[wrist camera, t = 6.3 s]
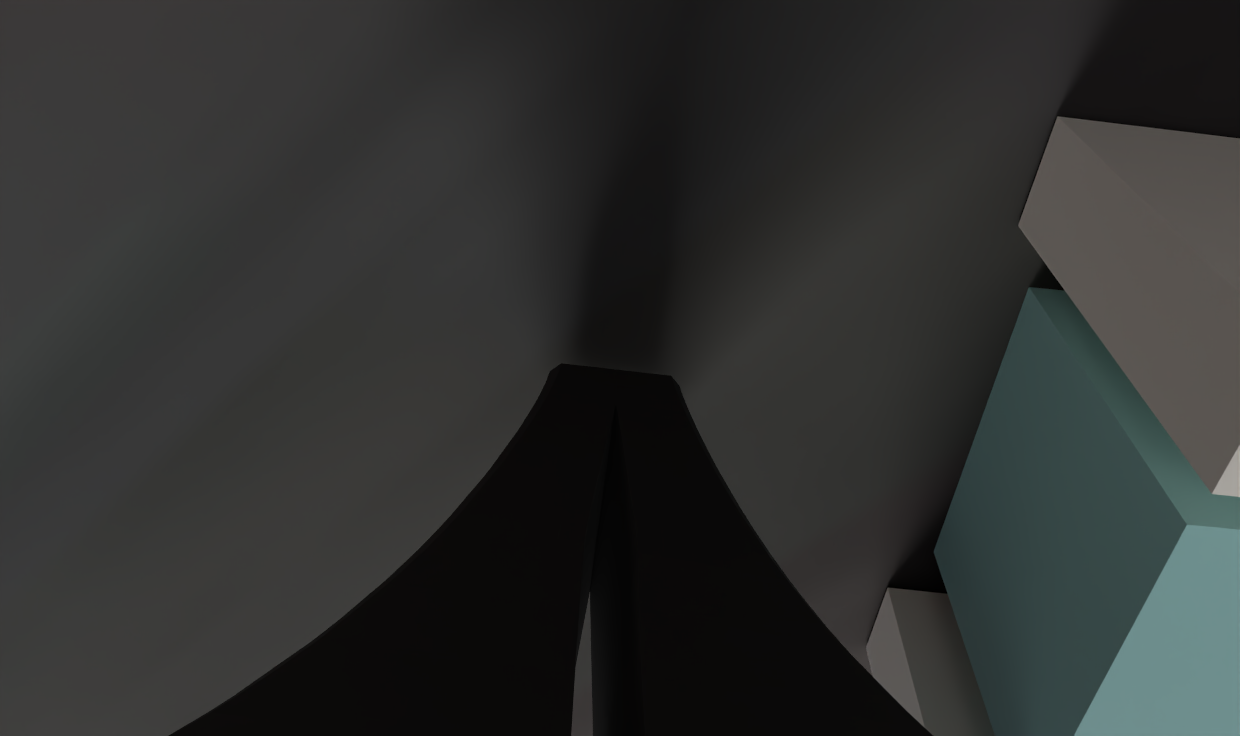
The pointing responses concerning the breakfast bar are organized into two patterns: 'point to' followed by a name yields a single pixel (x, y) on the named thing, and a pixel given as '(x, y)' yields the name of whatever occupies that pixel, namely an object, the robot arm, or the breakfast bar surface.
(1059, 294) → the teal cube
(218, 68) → the breakfast bar surface
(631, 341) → the breakfast bar surface
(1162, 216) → the white angular block
